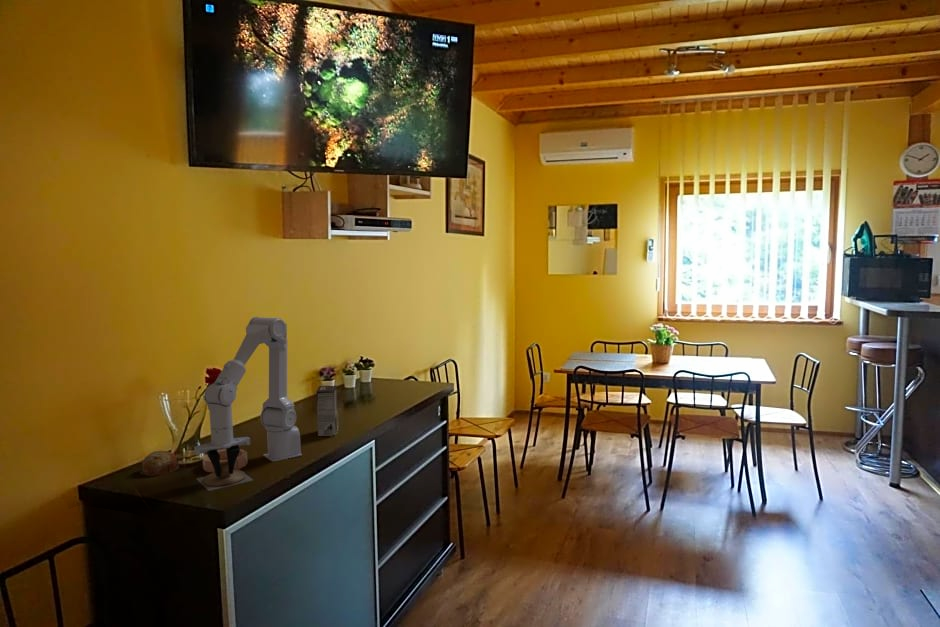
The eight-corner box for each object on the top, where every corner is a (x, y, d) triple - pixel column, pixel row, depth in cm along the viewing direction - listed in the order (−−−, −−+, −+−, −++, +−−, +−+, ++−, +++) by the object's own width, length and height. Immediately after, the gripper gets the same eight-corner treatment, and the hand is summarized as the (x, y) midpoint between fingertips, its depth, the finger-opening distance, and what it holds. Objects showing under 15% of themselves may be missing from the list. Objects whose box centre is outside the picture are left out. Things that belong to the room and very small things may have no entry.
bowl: (239, 457, 196) (238, 446, 195) (252, 467, 186) (252, 455, 186) (198, 465, 188) (198, 454, 188) (210, 476, 179) (210, 464, 178)
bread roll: (144, 481, 186) (129, 461, 183) (175, 459, 192) (162, 439, 189) (155, 490, 179) (140, 468, 176) (188, 467, 185) (174, 446, 182)
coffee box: (320, 430, 225) (318, 385, 223) (338, 429, 226) (337, 384, 224) (317, 437, 216) (315, 391, 214) (336, 436, 217) (334, 390, 215)
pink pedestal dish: (237, 469, 183) (237, 455, 183) (251, 479, 174) (250, 464, 174) (198, 478, 176) (197, 463, 176) (210, 489, 168) (209, 473, 167)
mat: (239, 470, 184) (239, 468, 184) (253, 481, 174) (253, 480, 174) (196, 479, 176) (195, 478, 176) (208, 492, 167) (208, 490, 167)
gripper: (198, 434, 166) (201, 484, 168) (252, 424, 175) (255, 472, 177) (190, 429, 172) (193, 477, 173) (244, 419, 181) (246, 465, 182)
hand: (224, 474), depth 175 cm, fingers closed on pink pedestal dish, 3 cm apart
